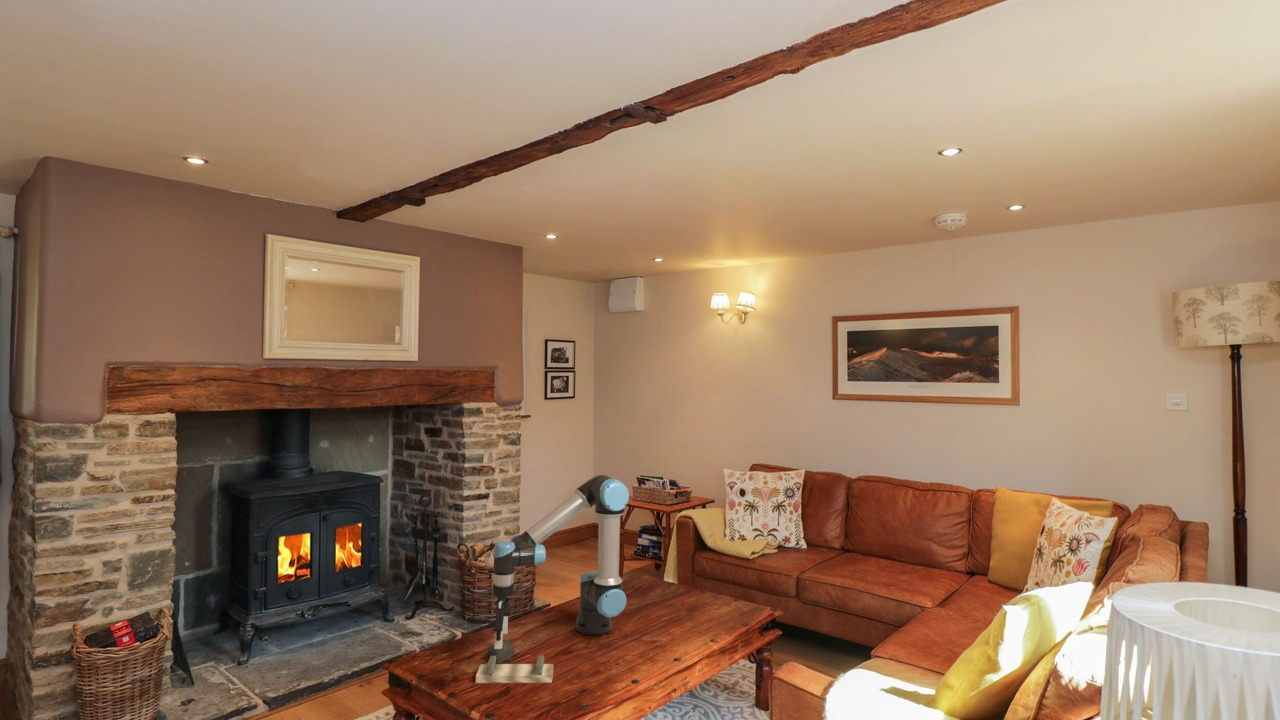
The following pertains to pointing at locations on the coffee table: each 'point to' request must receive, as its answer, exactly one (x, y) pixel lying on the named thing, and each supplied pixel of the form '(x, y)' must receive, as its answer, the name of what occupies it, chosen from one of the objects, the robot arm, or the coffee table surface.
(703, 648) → the coffee table surface
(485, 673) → the cream and green rack
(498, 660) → the stone
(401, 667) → the coffee table surface
